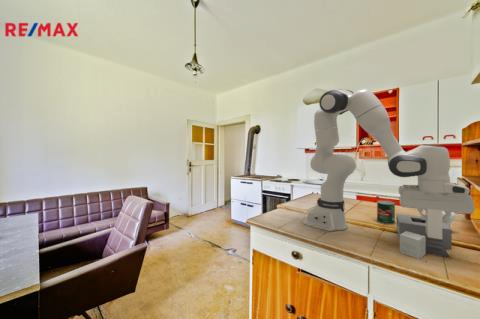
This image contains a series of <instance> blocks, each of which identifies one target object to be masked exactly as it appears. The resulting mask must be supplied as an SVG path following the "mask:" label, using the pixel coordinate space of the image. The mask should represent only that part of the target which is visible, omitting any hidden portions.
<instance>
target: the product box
mask: <svg viewBox="0 0 480 319" xmlns="http://www.w3.org/2000/svg"><path fill="white" fill-rule="evenodd" d="M399 252H400V253H401V254H404V255H407V256H410V257H412V258H414V259H417V260H420V259H422V257H424V256H425V255H426V254H427V253H426V248H425V236H423V235H419V234H416V233H412V232H408V231H405V232H404V233H402V234H400V240H399Z"/></svg>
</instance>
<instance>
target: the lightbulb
mask: <svg viewBox="0 0 480 319" xmlns="http://www.w3.org/2000/svg"><path fill="white" fill-rule="evenodd" d="M445 214H446V213H445V212H444V211H442V217H444V215H445ZM456 217H457V215H456V212H451V216H450V217H449V218H448V219H447V223H446V224H447V225H448V226H449V227H450V228H451V226H452V223H453V222H454V221H455V219H456Z"/></svg>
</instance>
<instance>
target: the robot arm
mask: <svg viewBox="0 0 480 319" xmlns="http://www.w3.org/2000/svg"><path fill="white" fill-rule="evenodd" d="M346 112H350V113H351V114H352V115H353V117H354V119H355V121H356V122H357V123H358V125H359V126H360V127H361V128H362V129H363V130H364V131H365V132H366V133H367V134H368V135H370V136H372V137H373V138H374V139H375V140H376V141H377V142H378V143H379V145H380V147H381V148H382V150H383V152H384V153H385V155H386V158H387V166H388V170H389V171H390V172H391V174H393V175H394V176H396V177H400V178H410V177H417V184H403V185H401V186H399V187H398V194H399V205H400V206H401V207H402V208H408V209H417V212H418V213H419V215H420V216H421V219H422V220H427V216H426V215H425V214H423V212H424V210H425V209H426V210H427V209H434V210H442V211H444V212H445V213H446V214H445V215H444V217H442V222H443V223H447V219H448V218H449V217H450V216H451V212H454V213H457V214H468V215H471V214H473V213H474V212H475V211H476V210H475V202H474V198H473V197H472V196H471V195H470V192H471V191H470V190H471V189H470V188H469V187H467V186H465V185H462V184H459V183H456V182H455V183H454V182H451V177H450V173H449V171H450V170H451V159H450V153H449V150H448V148H446V147H445V146H443V145H438V144H425V143H423V144H420V145H419V146H417V147H415V148H412V149H411V150H408V151H406V150H404V149H403V147H402V146H401V144H400V143H399V141H398V140H397V138H396V137H395V135H394V133H393V130H392V128H391V127H392V126H391V120H390V116H389V114H388V112H387V110H386V107H385V106H384V105H383V103H382V102H381V100H380V99H379V98H378V97H377V96H376V95H375V94H374V93H373V91H371V90H370V89H368V88H362V89H359V90H357V91H355V92H353V91H352V90H349V89H342V88H340V89H339V88H338V89H331V90H328V91H326V92H324V93H322V95H321V96H320V99H319V109H318V110H316V112H315V113H314V118H313V122H314V123H313V124H314V134H315V141H316V149H315V153H314V155H313V156H312V158H311V159H310V168H311V169H312V170H313V171H314V172H316V173H318V174H324V175H325V174H326V175H327V177H326V179H325V181H324V182H322V184H321V185H320V197H318V198H317V200H316V203H317V205H315V206H314V207H312V208H311V209H309V211H308V212H307V215H306V217H305V218H304V219H303V220H302V224H303V225H304V226H309V227H313V228H316V229H320V230H323V231H327V232H334V231H344V230H346V229H347V228H348V225H347V221H346V217H345V215H346V214H345V210H346V208H345V205H346V203H345V199H344V185H345V183H346V180H347V179H348V177H349V176H350V175H351V174H353V173H354V171H355V170H356V165H357V164H356V161H355V158H354V157H353V156H350V155H348V154H347V155H346V154H344V153H343V154H340V153H339V154H338V153H337V154H336V153H335V154H334V149H335V146H337V145H338V144H339V142H340V135H339V130H338V129H339V128H338V121H337V119H338V116H339V115H340V116H341V115H343V114H345V113H346Z"/></svg>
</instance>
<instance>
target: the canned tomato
mask: <svg viewBox="0 0 480 319" xmlns="http://www.w3.org/2000/svg"><path fill="white" fill-rule="evenodd" d="M395 204H396V203H395V202H393V201H391V200H377V201H376V212H377V213H376V217H377V218H376V219H377V220H376V221H377V222H378V223H379V224H383V223H384V224H383V225H395V224H396V213H395V212H396V210H395V209H396V207H395V206H396V205H395Z"/></svg>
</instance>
